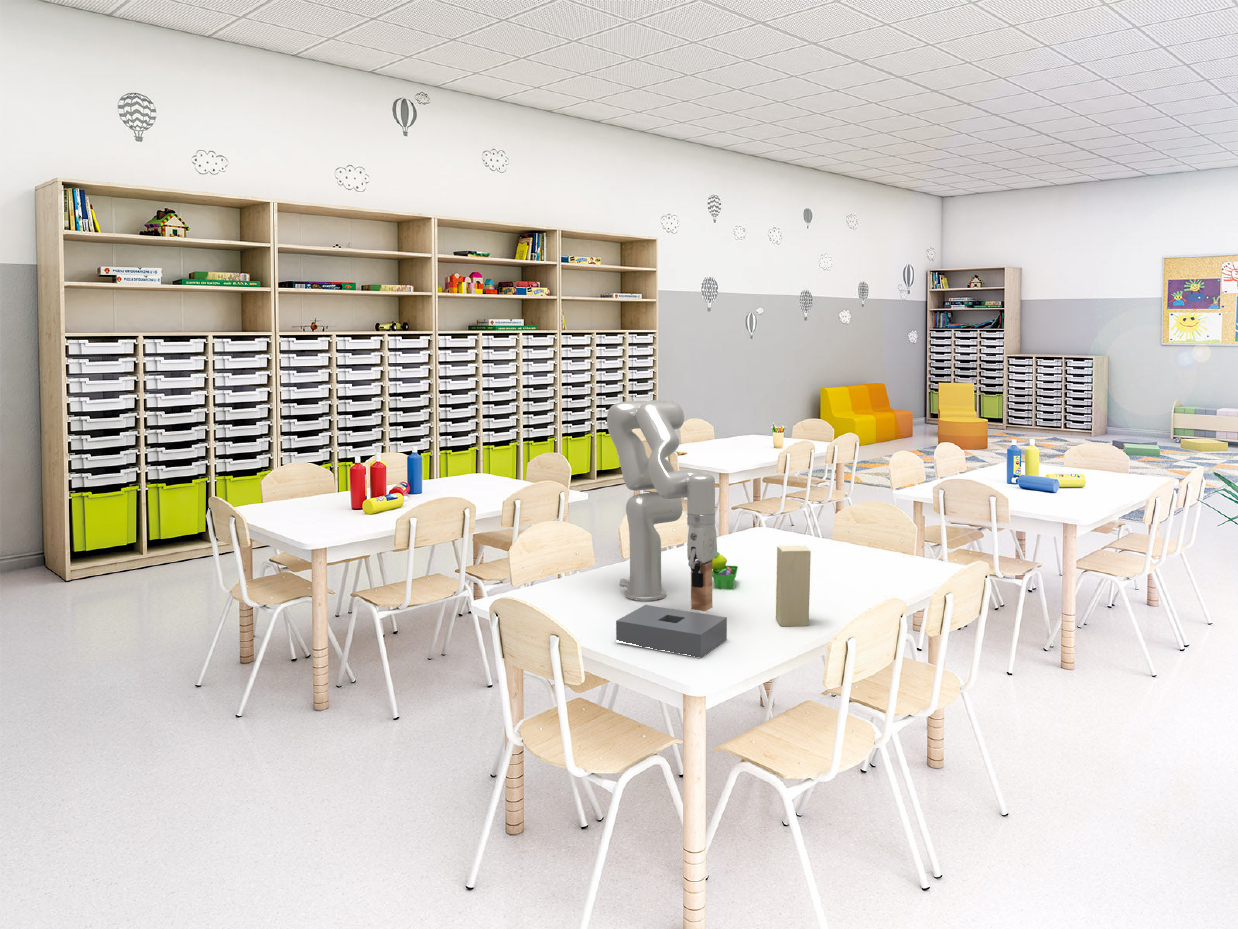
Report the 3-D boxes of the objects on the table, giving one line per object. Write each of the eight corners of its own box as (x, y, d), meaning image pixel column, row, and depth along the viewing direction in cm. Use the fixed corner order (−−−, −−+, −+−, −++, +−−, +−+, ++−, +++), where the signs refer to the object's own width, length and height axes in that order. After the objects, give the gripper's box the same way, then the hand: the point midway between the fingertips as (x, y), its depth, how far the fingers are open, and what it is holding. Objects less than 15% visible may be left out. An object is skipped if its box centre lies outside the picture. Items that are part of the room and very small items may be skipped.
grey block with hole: (616, 643, 238) (616, 620, 237) (645, 626, 252) (645, 604, 251) (700, 658, 226) (700, 634, 225) (726, 639, 240) (726, 617, 239)
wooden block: (691, 609, 253) (690, 563, 251) (697, 605, 256) (697, 559, 255) (705, 611, 250) (705, 564, 249) (712, 607, 254) (712, 561, 252)
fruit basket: (736, 590, 285) (736, 555, 284) (707, 589, 287) (707, 554, 285) (737, 581, 297) (738, 547, 295) (710, 580, 298) (710, 546, 297)
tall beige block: (803, 617, 257) (804, 544, 254) (809, 626, 250) (810, 550, 247) (775, 618, 257) (775, 545, 254) (780, 626, 250) (781, 551, 247)
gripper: (700, 526, 241) (701, 593, 243) (726, 515, 256) (726, 579, 258) (675, 523, 245) (675, 590, 247) (701, 513, 259) (702, 576, 262)
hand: (701, 584), depth 252 cm, fingers closed on wooden block, 4 cm apart
